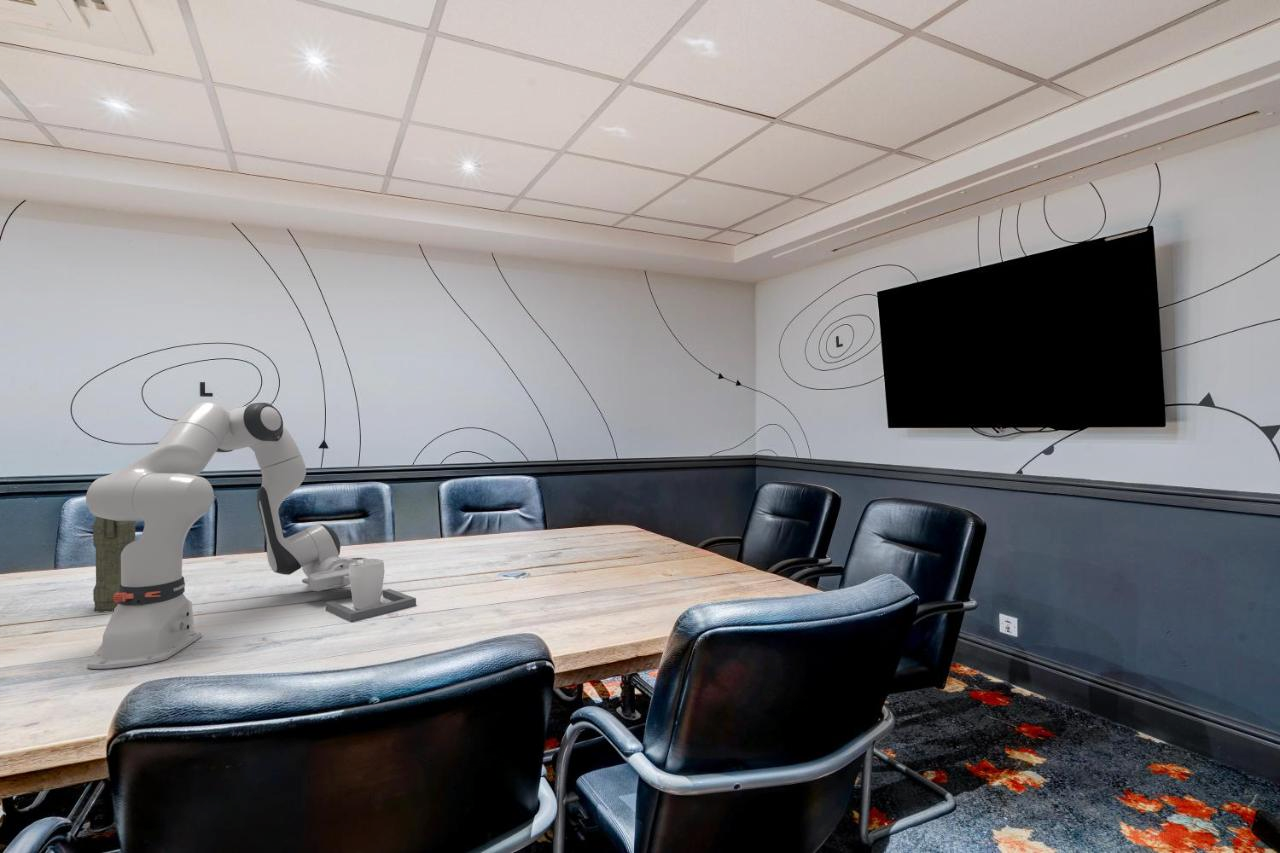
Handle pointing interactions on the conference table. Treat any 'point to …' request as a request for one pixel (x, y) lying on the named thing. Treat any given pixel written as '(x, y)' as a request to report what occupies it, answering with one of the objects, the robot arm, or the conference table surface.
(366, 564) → the cup
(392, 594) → the bay
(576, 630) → the conference table surface
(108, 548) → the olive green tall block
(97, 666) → the robot arm
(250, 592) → the conference table surface
